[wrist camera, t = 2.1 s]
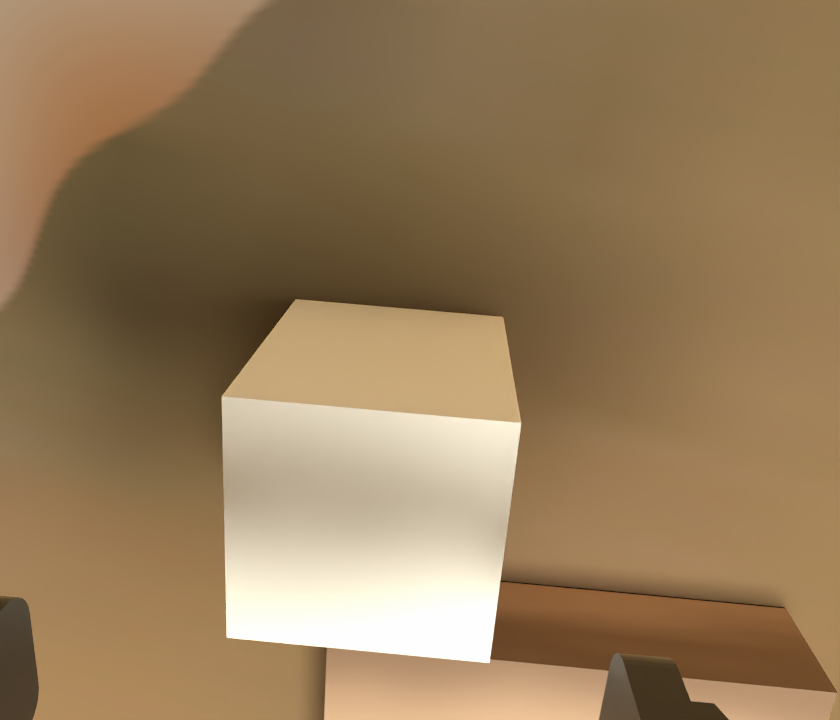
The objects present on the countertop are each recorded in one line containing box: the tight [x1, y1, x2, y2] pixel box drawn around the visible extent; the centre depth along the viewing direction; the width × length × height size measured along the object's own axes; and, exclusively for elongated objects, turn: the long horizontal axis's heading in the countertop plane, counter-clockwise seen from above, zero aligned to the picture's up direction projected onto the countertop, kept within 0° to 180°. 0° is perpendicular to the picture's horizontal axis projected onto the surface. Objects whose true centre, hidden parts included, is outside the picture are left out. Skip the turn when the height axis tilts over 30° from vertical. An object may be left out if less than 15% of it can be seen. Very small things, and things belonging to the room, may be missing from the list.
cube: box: [222, 299, 521, 663], centre depth 16 cm, size 5×5×6 cm
